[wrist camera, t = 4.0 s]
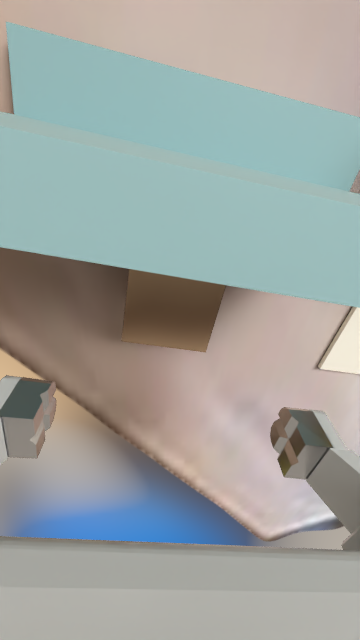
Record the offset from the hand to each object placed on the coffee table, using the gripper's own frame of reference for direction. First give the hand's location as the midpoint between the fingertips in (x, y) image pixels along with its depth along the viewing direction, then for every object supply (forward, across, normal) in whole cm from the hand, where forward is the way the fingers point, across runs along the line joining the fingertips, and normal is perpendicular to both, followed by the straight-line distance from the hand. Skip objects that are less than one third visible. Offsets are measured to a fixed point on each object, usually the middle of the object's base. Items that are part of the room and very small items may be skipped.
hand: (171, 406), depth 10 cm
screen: (+11, 0, -9) cm, 14 cm away
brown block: (+11, 0, -1) cm, 11 cm away
